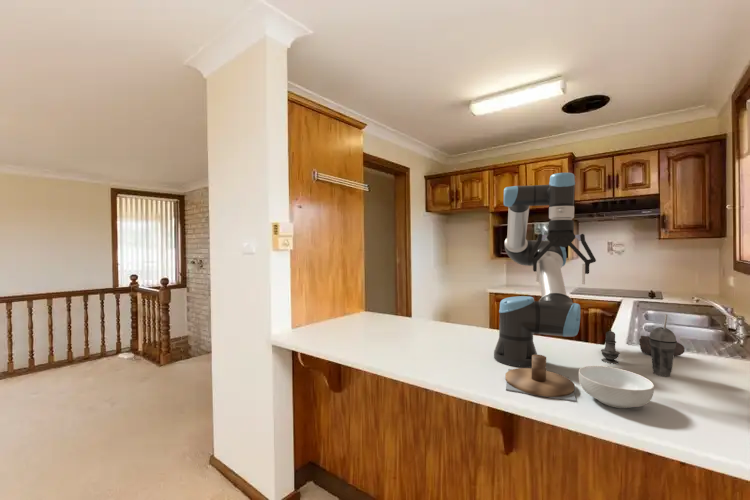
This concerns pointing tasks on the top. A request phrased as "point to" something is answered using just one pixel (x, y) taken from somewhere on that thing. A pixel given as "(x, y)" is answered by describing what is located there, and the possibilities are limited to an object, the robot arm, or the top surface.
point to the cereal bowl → (616, 386)
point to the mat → (568, 397)
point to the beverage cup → (662, 350)
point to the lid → (539, 380)
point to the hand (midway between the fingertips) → (560, 282)
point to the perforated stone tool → (646, 346)
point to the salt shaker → (610, 348)
